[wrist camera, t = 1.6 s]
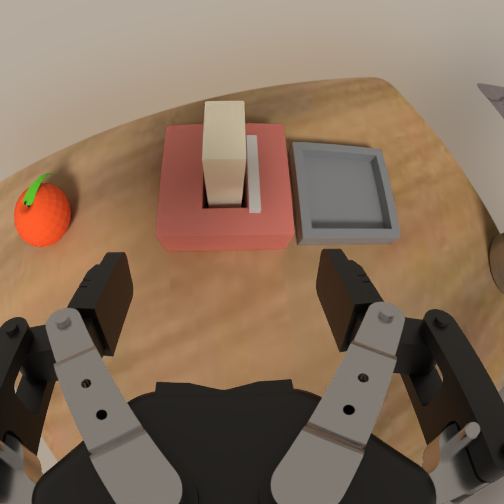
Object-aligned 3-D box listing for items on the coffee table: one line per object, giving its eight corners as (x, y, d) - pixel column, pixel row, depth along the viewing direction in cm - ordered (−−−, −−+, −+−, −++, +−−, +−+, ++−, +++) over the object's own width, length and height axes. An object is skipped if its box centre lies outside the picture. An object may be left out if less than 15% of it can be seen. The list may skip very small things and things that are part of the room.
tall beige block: (238, 173, 33) (244, 100, 21) (239, 219, 31) (246, 158, 20) (211, 174, 33) (205, 101, 21) (210, 220, 31) (201, 159, 20)
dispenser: (276, 149, 34) (284, 120, 29) (284, 249, 31) (296, 232, 26) (173, 151, 33) (165, 122, 28) (167, 251, 30) (154, 235, 25)
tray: (373, 159, 35) (381, 149, 33) (390, 243, 32) (400, 237, 30) (288, 153, 34) (292, 141, 32) (297, 245, 31) (303, 238, 29)
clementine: (51, 186, 31) (22, 159, 24) (92, 195, 31) (66, 165, 24) (28, 246, 29) (-7, 228, 22) (68, 260, 29) (34, 243, 22)
